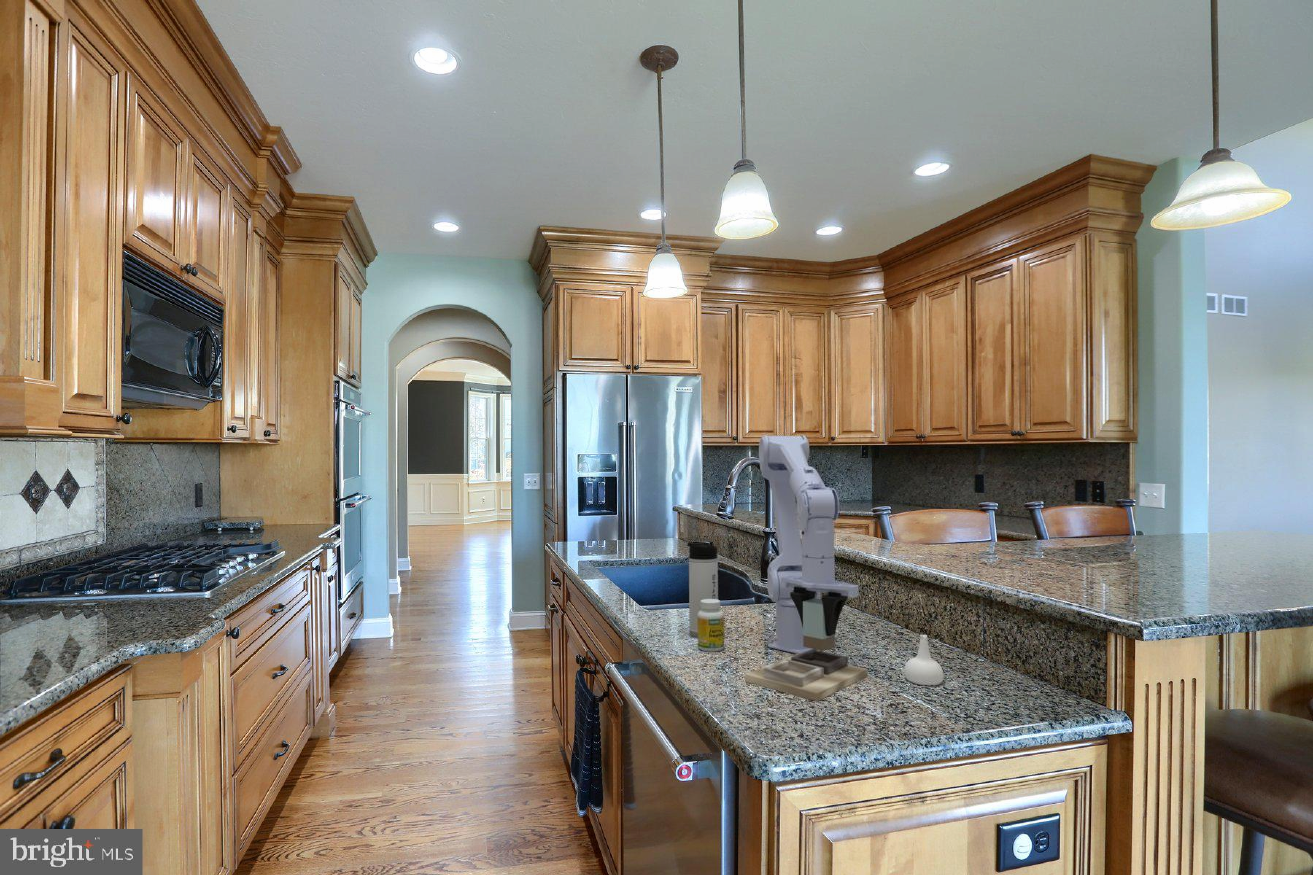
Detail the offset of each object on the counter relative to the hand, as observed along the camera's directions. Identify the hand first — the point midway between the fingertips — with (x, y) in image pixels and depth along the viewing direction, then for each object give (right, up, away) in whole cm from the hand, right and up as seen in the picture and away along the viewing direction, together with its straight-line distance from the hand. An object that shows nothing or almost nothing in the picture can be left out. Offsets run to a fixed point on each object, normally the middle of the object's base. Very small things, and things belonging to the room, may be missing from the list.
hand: (819, 632), depth 119 cm
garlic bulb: (+17, -7, -5) cm, 19 cm away
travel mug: (-19, -8, +26) cm, 33 cm away
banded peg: (0, -2, 0) cm, 2 cm away
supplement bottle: (-18, -8, +16) cm, 25 cm away
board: (-3, -7, -3) cm, 8 cm away
